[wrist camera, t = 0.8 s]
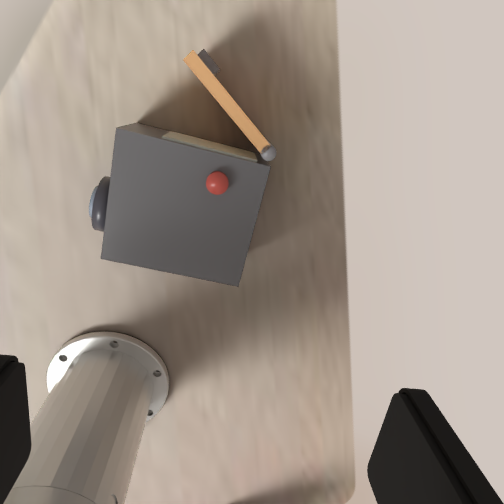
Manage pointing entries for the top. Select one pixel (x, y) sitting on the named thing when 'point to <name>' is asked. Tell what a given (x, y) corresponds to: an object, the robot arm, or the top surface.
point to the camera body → (179, 203)
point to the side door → (227, 101)
